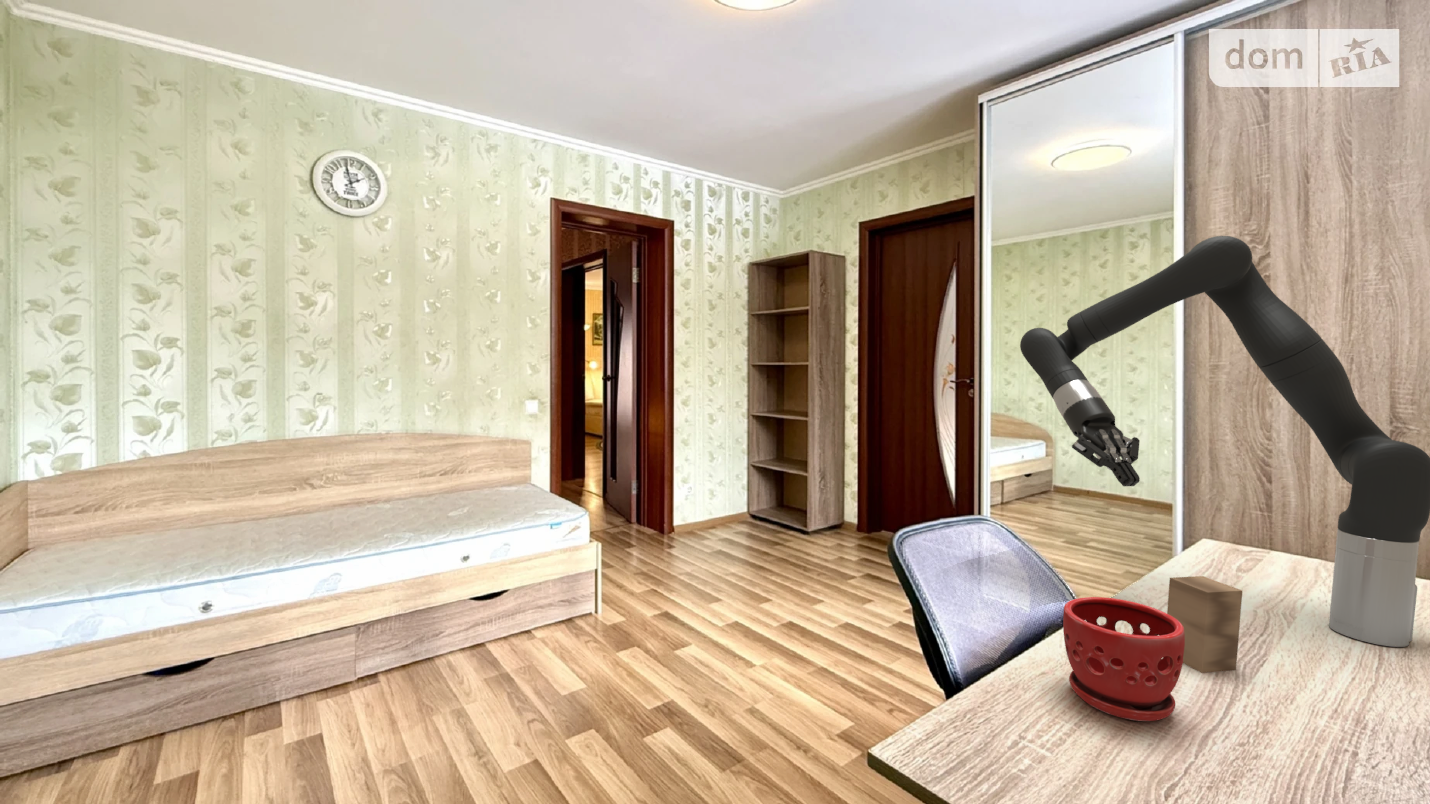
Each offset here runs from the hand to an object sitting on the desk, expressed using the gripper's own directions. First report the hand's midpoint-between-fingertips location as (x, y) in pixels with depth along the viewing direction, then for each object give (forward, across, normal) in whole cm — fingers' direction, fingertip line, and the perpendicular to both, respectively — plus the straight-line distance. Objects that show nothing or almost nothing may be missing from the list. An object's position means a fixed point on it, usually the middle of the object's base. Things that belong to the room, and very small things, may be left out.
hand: (1132, 483), depth 105 cm
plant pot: (+34, -24, 0) cm, 42 cm away
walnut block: (+28, -2, +6) cm, 29 cm away
